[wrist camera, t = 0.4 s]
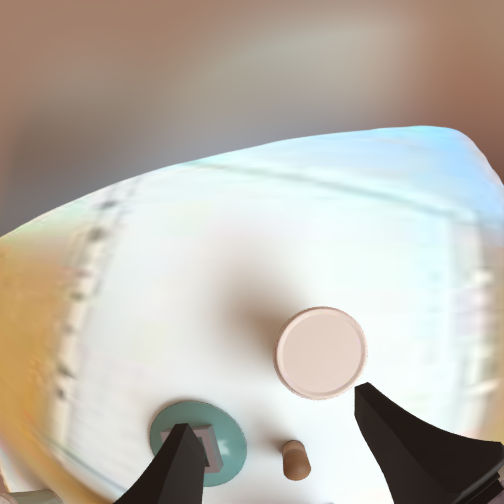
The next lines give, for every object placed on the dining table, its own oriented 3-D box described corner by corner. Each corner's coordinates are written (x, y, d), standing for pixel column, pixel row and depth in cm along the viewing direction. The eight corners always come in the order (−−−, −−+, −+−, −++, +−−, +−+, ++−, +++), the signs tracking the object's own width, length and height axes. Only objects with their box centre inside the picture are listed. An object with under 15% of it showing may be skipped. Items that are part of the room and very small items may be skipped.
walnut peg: (306, 455, 29) (313, 476, 21) (284, 460, 29) (286, 482, 21) (302, 438, 30) (308, 456, 22) (280, 443, 30) (280, 462, 22)
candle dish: (256, 479, 28) (254, 491, 24) (166, 484, 27) (155, 493, 24) (234, 394, 33) (229, 398, 29) (143, 404, 33) (130, 407, 29)
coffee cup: (324, 398, 32) (345, 414, 21) (262, 372, 34) (255, 377, 23) (352, 337, 35) (383, 326, 24) (292, 312, 37) (298, 289, 26)
